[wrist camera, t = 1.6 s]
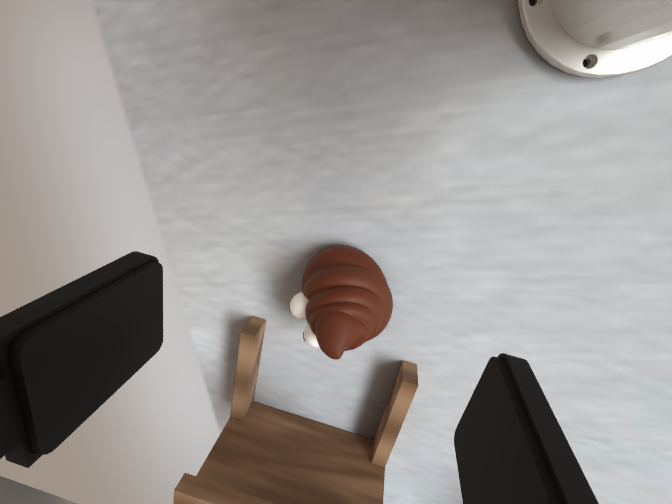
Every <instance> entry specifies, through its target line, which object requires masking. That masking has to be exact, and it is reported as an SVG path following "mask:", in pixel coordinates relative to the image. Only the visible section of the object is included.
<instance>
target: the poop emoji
mask: <svg viewBox="0 0 672 504" xmlns="http://www.w3.org/2000/svg"><path fill="white" fill-rule="evenodd" d="M392 308H393V301H392V295H391V292H390V289H389V287H388V285H387V282H386V279H385V277H384V274H383V272H382V271H381V269H380V267H379V266H378V265H377V263H376V262H375V261H374V260H373V259H372V258H371V257H370V256H368V255H367V254H366V253H364V252H363V251H361V250H359V249H356V248H353V247H349V246H333V247H329V248H326V249H324V250H322V251H320V252H319V253H317V254H316V255H315V256H314V257H313V258H312V259H311V260H310V262H309V263H308V265H307V267H306V269H305V272H304V275H303V280H302V292H300V293H298V294H296V295H295V296H294V297H293V298H292V300H291V302H290V305H289V310H290V312H291V314H292V315H293V316H295V317H296V318H299V319H305V318H306V319H307V322H308V325H307V326H306V328H305V330H304V333H303V338H304V341H305V342H306V343H307V344H308V345H309V346H311V347H320V348H321V350H322V351H323V352H324V353H325V354H326V355H327V356H328V357H330V358H332V359H339V358H341V356H342V354H343V352H344V351H347V350H352V349H355V348H357V347H359V346H361V345H362V344H363V343H364V342H366V341H368V340H371V339H373V338H374V337H376V336H377V335H379V334H380V333H381V332H382V331H383V330H384V328H385V327H386V326H387V324H388V322H389V320H390V317H391V314H392Z"/></svg>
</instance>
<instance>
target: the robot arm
mask: <svg viewBox="0 0 672 504" xmlns="http://www.w3.org/2000/svg"><path fill="white" fill-rule="evenodd" d="M518 7H519V12H520V18H521V23H522V25H523V28H524V30H525V33H526V35H527V38H528V40H529V41H530V43H531V44H532V45H533V47H534V48H535V50H536V51H537V53H538V54H539V55H540V56H542V57H543V58H544V59H545V60H546V61H547V62H548V63H549V64H551V65H552V66H554V67H556V68H558V69H560V70H562V71H564V72H566V73H569V74H573V75H577V76H581V77H591V78H605V77H613V76H620V75H624V74H628V73H633V72H637V71H640V70H643V69H645V68H648V67H650V66H653V65H655V64H658V63H660V62H662V61H664V60H665V59H667V58H669V57H671V56H672V0H535V5H534V6H531V5H530V4H529V0H518ZM584 59H585V60H587V65H586V67H584V66H583V60H584ZM162 342H163V269H162V265H161V264H160V263H159V262H158V259H157V258H156V257H154V256H151V255H147V254H144V253H140V252H131V253H129V254H127V255H125V256H123V257H121V258H119V259H117V260H115V261H113V262H111V263H109V264H107V265H105V266H103V267H101V268H99V269H97V270H95V271H93V272H91V273H89V274H87V275H85V276H83V277H81V278H79V279H77V280H75V281H73V282H71V283H69V284H67V285H65V286H62V287H61V288H58V289H56V290H55V291H52V292H50V293H48V294H46V295H44V296H42V297H40V298H39V299H36V300H34V301H32V302H30V303H28V304H26V305H24V306H22V307H20V308H18V309H16V310H14V311H12V312H10V313H8V314H6V315H4V316H2V317H0V459H1V458H2V457H3V456H4V455H5V457H6V460H7V461H10V462H13V463H16V464H18V465H21V466H24V467H27V468H29V467H30V466H31V465H32V464H33V463H34V462H35V461H36V460H37V459H38V458H40V457H41V456H42V455H43V454H44V455H45V454H48V453H50V452H52V451H53V450H54V449H56V448H57V447H58V446H59V445H60V444H61V443H62V442H63V441H64V440H65V439H66V438H67V437H68V436H69V435H70V434H71V433H73V432H74V431H75V430H76V429H77V428H78V427H79V426H80V425H81V424H82V423H83V422H84V421H85V420H86V419H87V418H88V417H89V416H91V415H92V413H94V412H95V411H96V410H97V409H98V408H99V407H100V406H101V405H102V404H103V403H104V402H105V401H106V400H107V399H108V398H109V397H111V396H112V395H113V394H114V393H115V392H116V391H117V390H118V389H119V388H120V387H121V386H122V385H123V384H124V383H125V382H126V381H127V380H128V379H130V378H131V377H132V376H133V375H134V374H135V373H136V372H137V371H138V370H139V369H140V368H141V367H142V366H143V365H144V364H145V363H146V362H147V361H149V359H150V358H152V357H153V356H154V355H155V354H156V353H157V352H158V351H159V349H160V347H161V345H162ZM454 445H455V452H456V458H457V465H458V472H459V479H460V485H461V492H462V499H463V504H598V502H597V500H596V498H595V496H594V494H593V492H592V490H591V488H590V486H589V484H588V482H587V480H586V478H585V476H584V474H583V472H582V469H581V467H580V465H579V463H578V461H577V459H576V457H575V455H574V453H573V451H572V449H571V447H570V445H569V443H568V441H567V439H566V437H565V435H564V433H563V431H562V429H561V427H560V425H559V423H558V421H557V419H556V417H555V415H554V413H553V411H552V409H551V407H550V405H549V403H548V401H547V399H546V397H545V395H544V393H543V391H542V389H541V387H540V385H539V383H538V381H537V379H536V377H535V375H534V373H533V371H532V369H531V367H530V365H529V363H528V362H527V360H525V359H521V358H518V357H514V356H511V355H507V354H503V353H502V354H500V355H499V356H498V357H491V358H490V360H489V361H488V364H487V366H486V368H485V370H484V372H483V374H482V376H481V378H480V380H479V382H478V384H477V386H476V388H475V390H474V393H473V395H472V397H471V399H470V401H469V403H468V405H467V407H466V409H465V411H464V413H463V415H462V417H461V419H460V422H459V424H458V426H457V428H456V431H455V436H454ZM0 504H77V503H74V502H72V501H69V500H66V499H63V498H60V497H58V496H55V495H52V494H49V493H46V492H44V491H41V490H38V489H35V488H32V487H29V486H27V485H24V484H21V483H18V482H15V481H13V480H10V479H7V478H4V477H1V476H0Z"/></svg>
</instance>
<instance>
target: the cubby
mask: <svg viewBox="0 0 672 504" xmlns="http://www.w3.org/2000/svg"><path fill="white" fill-rule="evenodd" d="M265 324H266V320H264V319H260V318H257V317H254V316H253V317H252V318H251V319H250V321H249V322H248V323H247V325H246V326H245V327H244V329H243V330H242V331H241V335H240V343H239V351H238V359H237V367H236V375H235V383H234V391H233V399H232V407H231V415H230V419H229V420H228V422H227V424H226V426H225V427H224V429H223V431H222V432H221V434H220V436H219V438H218V439H217V441H216V443H215V445H214V446H213V448H212V450H211V452H210V453H209V455H208V457H207V458H206V461H205V462H204V464H203V466H202V467H201V469H200V470H199V472H198V474H197V476H193V475H190V474H187V473H185V474H184V475H183V477H182V478H181V480H180V482H179V483H178V485H177V487H176V488H175V490H174V504H383V492H384V473H385V466H386V463H387V461H388V458H389V456H390V454H391V451H392V449H393V446H394V444H395V441H396V439H397V436H398V434H399V431H400V429H401V426H402V424H403V421H404V419H405V417H406V414H407V412H408V409H409V407H410V404H411V402H412V399H413V397H414V394H415V392H416V389H417V387H418V375H417V365H416V364H413V363H409V362H406V361H402V364H401V367H400V369H399V372H398V375H397V377H396V380H395V383H394V386H393V388H392V391H391V394H390V396H389V399H388V402H387V405H386V407H385V410H384V413H383V415H382V418H381V421H380V424H379V426H378V429H377V432H376V434H375V437H374V440H373V439H370V438H367V437H364V436H360V435H357V434H354V433H351V432H348V431H345V430H342V429H338V428H335V427H332V426H329V425H326V424H323V423H320V422H316V421H313V420H310V419H307V418H304V417H301V416H298V415H294V414H291V413H288V412H285V411H282V410H279V409H276V408H272V407H269V406H266V405H263V404H260V403H257V402H254V401H253V400H254V394H255V387H256V381H257V374H258V368H259V362H260V355H261V349H262V343H263V336H264V330H265Z"/></svg>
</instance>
